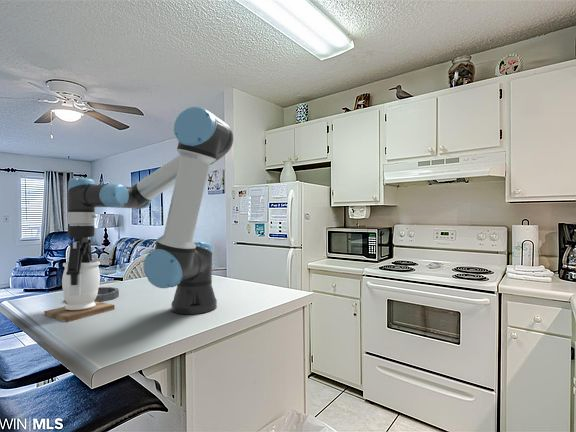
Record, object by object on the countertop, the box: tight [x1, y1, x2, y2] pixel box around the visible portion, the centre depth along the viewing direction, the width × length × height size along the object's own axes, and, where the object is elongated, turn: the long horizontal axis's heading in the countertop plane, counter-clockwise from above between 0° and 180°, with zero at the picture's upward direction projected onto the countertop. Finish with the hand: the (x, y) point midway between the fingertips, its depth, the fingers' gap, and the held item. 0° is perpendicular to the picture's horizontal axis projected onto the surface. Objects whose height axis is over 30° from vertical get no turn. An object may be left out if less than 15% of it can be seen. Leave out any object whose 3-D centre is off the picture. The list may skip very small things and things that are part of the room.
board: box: [43, 301, 116, 323], centre depth 106 cm, size 13×15×2 cm
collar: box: [94, 286, 120, 303], centre depth 125 cm, size 16×16×2 cm
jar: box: [61, 260, 101, 310], centre depth 106 cm, size 11×10×15 cm
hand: (80, 291), depth 106 cm, fingers open, 11 cm apart
